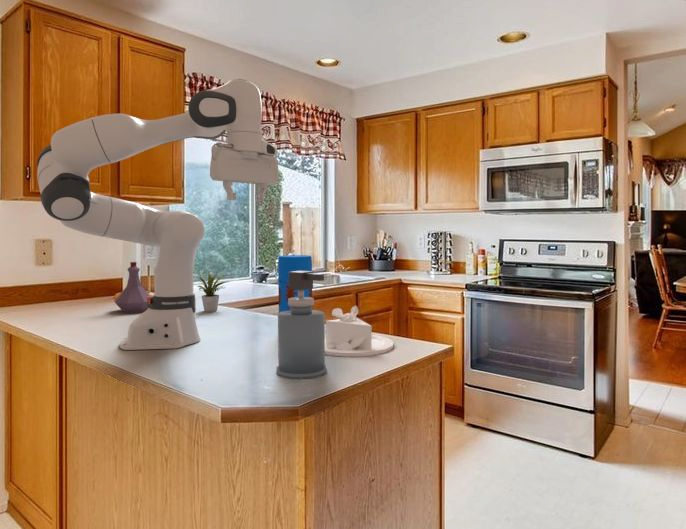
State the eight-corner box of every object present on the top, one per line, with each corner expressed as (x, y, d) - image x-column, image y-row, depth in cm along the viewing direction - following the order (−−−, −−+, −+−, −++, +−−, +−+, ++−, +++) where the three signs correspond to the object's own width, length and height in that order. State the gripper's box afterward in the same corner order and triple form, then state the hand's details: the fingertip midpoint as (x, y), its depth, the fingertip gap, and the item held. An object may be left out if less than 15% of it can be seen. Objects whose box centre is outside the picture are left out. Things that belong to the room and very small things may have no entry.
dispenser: (265, 372, 120) (264, 299, 119) (300, 362, 130) (299, 293, 128) (303, 382, 113) (302, 304, 111) (337, 370, 122) (336, 298, 121)
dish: (291, 345, 150) (291, 307, 149) (357, 333, 165) (357, 299, 164) (342, 362, 130) (342, 319, 129) (411, 348, 145) (411, 309, 145)
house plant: (211, 315, 198) (210, 273, 196) (184, 312, 204) (183, 272, 202) (234, 309, 211) (233, 270, 209) (208, 307, 216) (207, 269, 215)
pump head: (289, 298, 119) (288, 271, 119) (300, 296, 123) (300, 270, 122) (316, 301, 114) (316, 273, 114) (327, 299, 117) (327, 272, 117)
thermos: (307, 337, 158) (306, 257, 156) (274, 335, 160) (273, 256, 158) (315, 330, 169) (315, 255, 167) (285, 329, 171) (284, 254, 169)
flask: (163, 310, 210) (162, 262, 208) (124, 315, 197) (122, 264, 196) (144, 306, 221) (142, 260, 219) (106, 311, 208) (104, 262, 207)
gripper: (220, 139, 120) (221, 198, 121) (281, 149, 136) (282, 201, 137) (203, 142, 123) (204, 199, 124) (265, 151, 139) (266, 202, 141)
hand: (246, 200), depth 131 cm, fingers open, 8 cm apart
